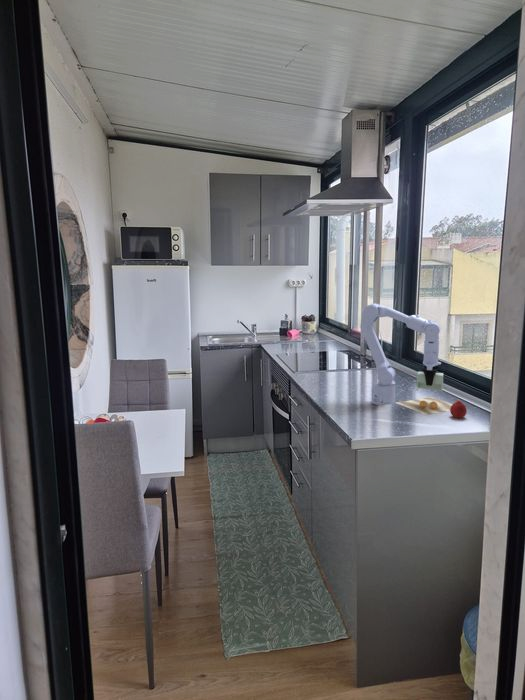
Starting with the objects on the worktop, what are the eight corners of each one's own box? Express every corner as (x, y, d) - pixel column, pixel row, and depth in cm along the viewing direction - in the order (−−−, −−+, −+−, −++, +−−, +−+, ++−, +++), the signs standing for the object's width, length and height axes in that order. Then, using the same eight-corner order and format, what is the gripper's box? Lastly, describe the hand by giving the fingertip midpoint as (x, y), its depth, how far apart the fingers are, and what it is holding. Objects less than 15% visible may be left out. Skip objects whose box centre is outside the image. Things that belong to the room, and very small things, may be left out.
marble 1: (422, 409, 187) (423, 402, 186) (417, 407, 189) (418, 400, 189) (428, 408, 188) (428, 401, 187) (423, 406, 191) (423, 399, 190)
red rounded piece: (461, 417, 179) (462, 397, 178) (468, 421, 173) (470, 401, 172) (447, 417, 179) (448, 397, 177) (453, 422, 173) (454, 401, 172)
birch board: (426, 417, 179) (426, 414, 179) (394, 404, 197) (394, 402, 197) (464, 410, 187) (464, 408, 187) (431, 399, 204) (431, 397, 204)
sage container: (416, 390, 190) (417, 374, 189) (417, 387, 195) (418, 371, 194) (442, 392, 186) (442, 375, 185) (442, 389, 191) (443, 373, 190)
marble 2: (433, 410, 185) (433, 403, 185) (427, 408, 188) (428, 401, 187) (438, 409, 186) (439, 402, 186) (433, 407, 189) (433, 400, 188)
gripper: (440, 355, 180) (439, 388, 182) (442, 349, 193) (440, 380, 195) (422, 354, 183) (420, 387, 185) (424, 348, 196) (423, 379, 198)
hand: (429, 383), depth 190 cm, fingers closed on sage container, 6 cm apart
